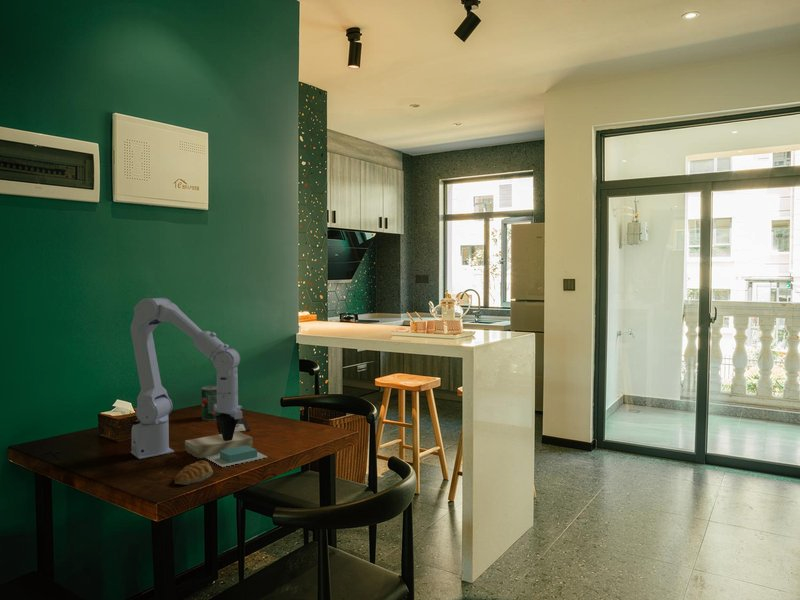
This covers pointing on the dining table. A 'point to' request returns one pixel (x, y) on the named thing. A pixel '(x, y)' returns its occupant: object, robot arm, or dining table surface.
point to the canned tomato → (209, 402)
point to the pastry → (194, 473)
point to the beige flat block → (216, 444)
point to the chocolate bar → (241, 425)
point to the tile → (238, 454)
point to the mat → (222, 463)
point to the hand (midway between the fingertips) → (227, 440)
